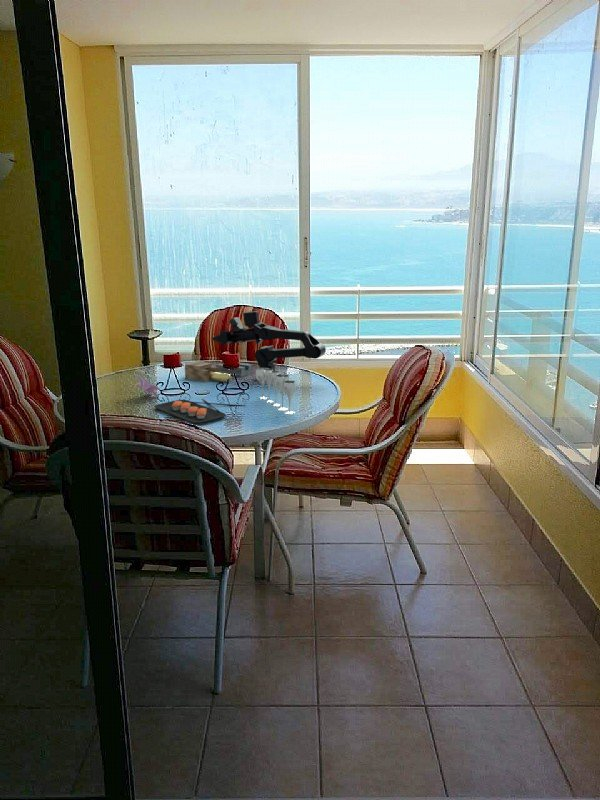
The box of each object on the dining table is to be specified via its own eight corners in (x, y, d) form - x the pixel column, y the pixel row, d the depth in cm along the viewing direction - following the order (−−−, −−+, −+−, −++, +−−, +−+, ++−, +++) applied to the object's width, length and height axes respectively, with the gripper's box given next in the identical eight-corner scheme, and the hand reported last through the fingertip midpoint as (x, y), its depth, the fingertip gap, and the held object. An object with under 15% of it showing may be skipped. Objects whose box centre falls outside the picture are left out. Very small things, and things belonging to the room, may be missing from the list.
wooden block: (217, 378, 286) (217, 364, 284) (206, 381, 279) (206, 367, 277) (196, 374, 291) (195, 361, 290) (185, 378, 285) (184, 364, 283)
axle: (231, 382, 280) (231, 373, 280) (226, 383, 277) (226, 374, 276) (202, 378, 288) (202, 369, 287) (196, 378, 284) (197, 370, 283)
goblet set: (299, 413, 236) (299, 378, 233) (285, 415, 233) (285, 380, 230) (266, 395, 260) (265, 363, 256) (253, 397, 257) (253, 365, 253)
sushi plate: (151, 410, 239) (150, 400, 238) (215, 396, 259) (214, 387, 258) (196, 428, 219) (196, 418, 218) (261, 411, 239) (261, 401, 238)
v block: (252, 372, 297) (252, 364, 296) (240, 377, 288) (240, 368, 287) (228, 369, 303) (227, 360, 302) (215, 373, 295) (215, 364, 294)
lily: (161, 404, 249) (167, 381, 251) (132, 395, 243) (139, 372, 245) (151, 406, 259) (157, 383, 261) (124, 398, 254) (130, 375, 256)
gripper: (254, 316, 294) (225, 320, 300) (235, 317, 277) (204, 321, 283) (257, 340, 295) (228, 344, 301) (238, 342, 278) (207, 346, 284)
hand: (217, 338), depth 292 cm, fingers open, 9 cm apart
